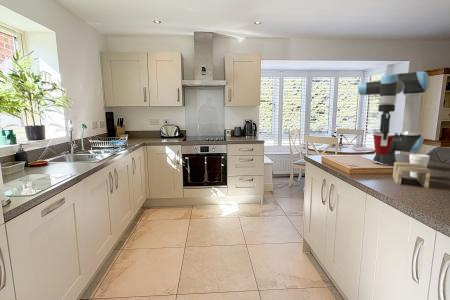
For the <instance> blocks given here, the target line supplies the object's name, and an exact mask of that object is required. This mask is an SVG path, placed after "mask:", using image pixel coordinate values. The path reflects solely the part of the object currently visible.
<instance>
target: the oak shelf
mask: <svg viewBox="0 0 450 300" xmlns="http://www.w3.org/2000/svg"><path fill="white" fill-rule="evenodd" d="M403 172H409V173H410V172H417V178H416V181H418V183H420V185H422V187H423V188H427V189H429V187H430V186H429V185H430V178H431V177H430V176H431V172H432V171H431V170H430V169H429V168H428V167H425V166H424V165H422V164H413V163H410V162H398V161H397V162H394V166H393V170H392V178H393V180H394V182H395V183H396V185H400V186H401V185H402V178H403Z"/></svg>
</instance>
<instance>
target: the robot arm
mask: <svg viewBox="0 0 450 300" xmlns="http://www.w3.org/2000/svg"><path fill="white" fill-rule="evenodd" d="M429 86H430V78H429V73H428V72H426V71H412V72H400V73H389V74H384V75H382V76H381V79H377V80H373V81H368V82H367V81H365V82H360V84H359V85H358V89H357V90H358V95H360V96H373V95H379V97H378V98H377V100H378V102H379V103H378V109H377V111H378V112H382V113H381V115H380V127H379V132H381V134H382V138H381V146H387V140H388V133H389V132H390V121H391V120H390V119H391V114H390V112H392V113H394V112H395V111H396V102H397V101H396V100H397V95H399V94H401V93H402V95H404V96H405V99H404V110H403V111H404V113H403V124H402V127H403V128H402V131H401V132H400V133H399V134H398V133H397V132H394V133H395V135H394V137H393V140H392V142H391V145H390V149H389V151H388V154H387V155H379V154H376V153H375V155H374V157H373V159H372V161H373V160H374V161H377V162H380V163H383V164H388V165H387V166H389V165H394V162H398V161H397V157H396V152H403V153H409V154H418V153H419V152H420V151H421V149H422V147H423V143H424V140H425V139H424V138H425V137H424V136H423V135H422V133H421V132H420V131H419V128H420V127H419V126H420V119H421V118H420V117H421V106H422V96H423V95H424V94H425V93H426V91H427V90H428V89H429Z"/></svg>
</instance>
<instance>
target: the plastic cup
mask: <svg viewBox="0 0 450 300" xmlns="http://www.w3.org/2000/svg"><path fill="white" fill-rule="evenodd" d="M395 133H396V132H391V131H389V133H388V140H387V146H381V138H382V134H381V132H380V131H373V132H372V136H373V142H374V150H375V151H374V152H375V155H376V154H379V155H387V154H388V151H389V149H390V145H391V142H392V140H393V137H394V135H395Z"/></svg>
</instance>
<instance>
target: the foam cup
mask: <svg viewBox="0 0 450 300" xmlns="http://www.w3.org/2000/svg"><path fill="white" fill-rule="evenodd" d="M430 158H431V157H430V155H428V154H422V153H420V154H419V153H409V157H408V159H409V163H413V164H422V165H424V166H425V167H426V168H428V164H429V161H430ZM409 175H410V177H411V178H415V179H417V172H409Z"/></svg>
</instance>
